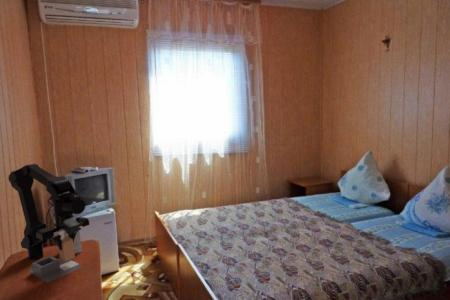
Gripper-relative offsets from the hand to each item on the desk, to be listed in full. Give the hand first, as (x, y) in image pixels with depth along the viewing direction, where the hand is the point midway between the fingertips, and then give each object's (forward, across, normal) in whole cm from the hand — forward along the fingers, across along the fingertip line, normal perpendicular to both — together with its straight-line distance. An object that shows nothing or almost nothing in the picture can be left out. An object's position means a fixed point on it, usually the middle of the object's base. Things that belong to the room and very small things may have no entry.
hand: (66, 248), depth 124 cm
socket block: (+8, -4, +2) cm, 10 cm away
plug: (+4, 0, 0) cm, 5 cm away
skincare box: (+9, +9, +12) cm, 17 cm away
